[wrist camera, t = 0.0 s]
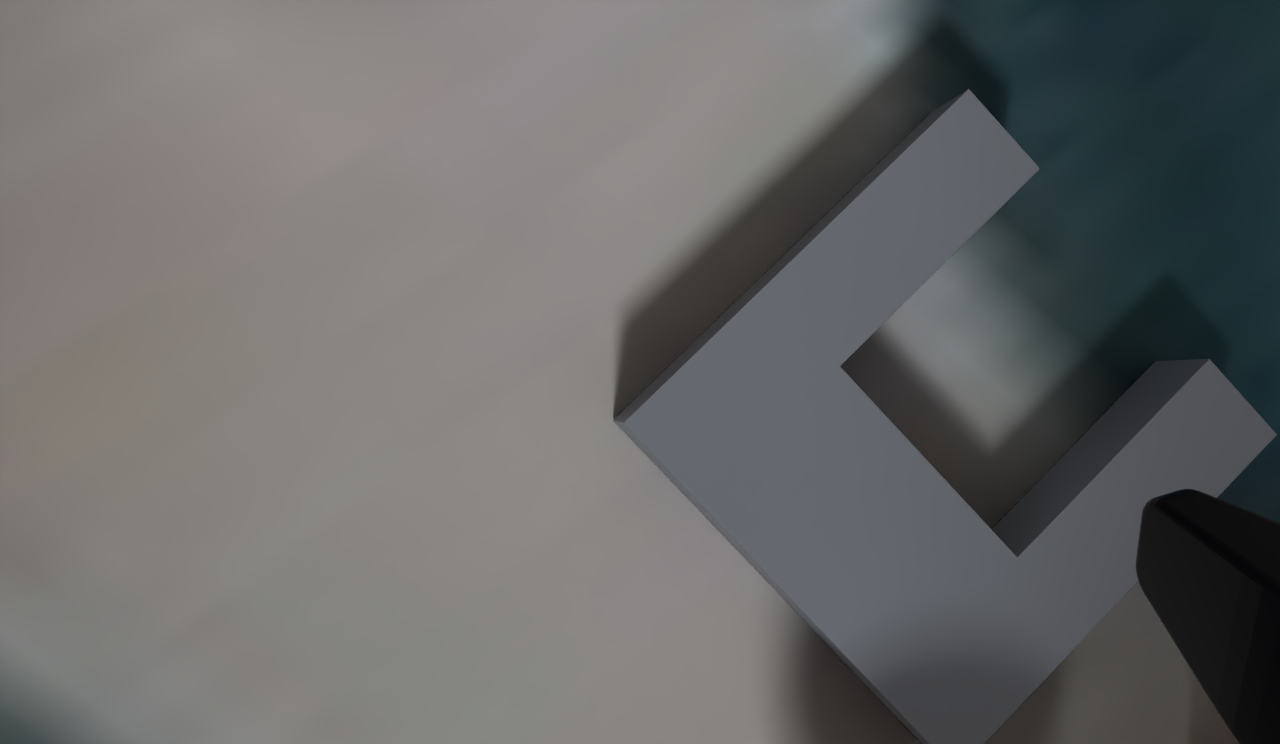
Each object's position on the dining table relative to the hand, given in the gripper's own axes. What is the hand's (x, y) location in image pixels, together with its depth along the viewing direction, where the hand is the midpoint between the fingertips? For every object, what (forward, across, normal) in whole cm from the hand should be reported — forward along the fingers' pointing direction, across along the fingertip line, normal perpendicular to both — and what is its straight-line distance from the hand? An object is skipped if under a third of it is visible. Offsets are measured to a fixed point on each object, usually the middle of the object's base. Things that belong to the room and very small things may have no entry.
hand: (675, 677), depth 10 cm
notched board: (+12, -8, +8) cm, 17 cm away
